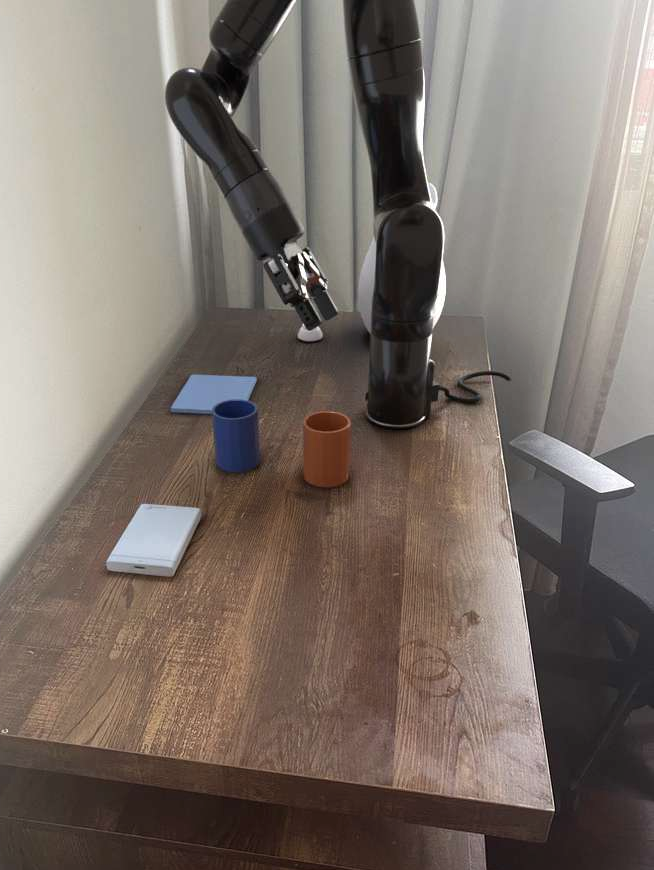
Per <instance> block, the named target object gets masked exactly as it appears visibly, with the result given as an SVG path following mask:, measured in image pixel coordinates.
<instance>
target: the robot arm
mask: <svg viewBox="0 0 654 870" xmlns="http://www.w3.org/2000/svg"><path fill="white" fill-rule="evenodd" d="M297 1H298V0H226V1H225V2H224V4H223V6H222V7H221V9H220V11H219V12H218V14H217V16H216V17H215V20H214V21H213V23H212V25H211V28H210V29H209V33H208V40H209V44H210V45H211V48H210V50H209V52H208V55H207V56H206V59H205V61H204V63H203V65H202V67H201V69H200V68H196V67H182V68H179V69H178V70H176V71H174V73H172V75H170V77H169V78H168V80H167V83H166V84H165V89H164V101H165V103H164V104H165V107H166V110H167V113H168V115H169V118H170V120H171V123H172V124H173V126H174V127H175V129H176V130H177V131H178V133H179V134H180V136H181V137H182V138H183V140H184V141H185V142H186V144H187V145H188V146H189V147H190V149H191V150H192V151H193V152H194V154H195V155H196V156H197V157H198V159H199V160H200V161H201V162H202V163H203V164H204V166H205V167H206V168H207V170H208V171H209V173H210V175H211V177H212V179H213V181H214V183H215V185H216V186H217V188H218V190H219V192H220V194H221V196H222V197H223V198H224V201H225V203H226V205H227V207H228V209H229V212H230V214H231V216H232V218H233V220H234V222H235V224H236V225H237V227H238V229H239V231H240V232H241V234H242V236H243V238H244V239H245V241H246V243H247V245H248V247H249V248H250V250H251V251H252V253H253V255H254V257H255V258H256V260H257V261H259V262H260V261H261V262H262V261H265V260H267V261H265V262H264V263H263V264H262V266H263V269H264V270H265V272H266V274H267V276H268V278H269V280H270V281H271V283H272V285H273V287H274V289H275V291H276V293H277V294H278V296H279V298H280V300H281V302H282V303H283V304H284V305H285V306H287V305H289V306H290V307H291V308H294V310H295V311H296V313H297V315H298V317H299V318H300V321H301V322H302V325H303V324H304V326H305V327H306V329H307V330H308V331H311V330H313V329H314V328H316V327H320V326H321V325H322V324H323V320H322V318H323V319H324V321H329V320H331V319H333V318H334V317H336V316H337V315H338V314H339V309H338V307H337V306H336V305H335V303H334V301H333V299H332V297H331V295H330V294H329V291H328V290H327V289H328V284H329V279H328V278H327V276H326V275H325V273H324V271H323V269H322V268H321V266H320V264H319V263H318V260H317V259H316V257H315V256H314V254H313V252H312V250H311V248H310V247H309V246H305V247H304V248H301V247H300V246H299V245H298V240H299V239H301V237H303V235H304V234H305V228H304V226H303V224H302V222H301V220H300V218H299V217H298V215H297V213H296V211H295V210H294V208H293V206H292V204H291V202H290V201H289V198H288V197H287V195H286V193H285V192H284V190H283V189H282V186H281V184H280V183H279V182H278V180H277V179H276V178H275V176H274V175H273V174H272V172H271V170H270V168H269V167H268V165H267V163H266V161H265V159H264V158H263V156H262V154H261V152H260V151H259V149H258V147H257V146H256V144H255V142H254V141H253V140H252V138H250V136H249V135H247V134H246V133H245V132H243V131H242V130H241V129H240V128H239V127H238V126H237V124H236V123H235V121H234V120H233V117H234V115H235V114H236V112H237V110H238V108H239V106H240V105H241V102H242V100H243V98H244V96H245V94H246V91H247V89H248V86H249V85H250V82H251V79H252V77H253V75H254V74H253V73H254V71H255V68H256V67H257V65H258V64H259V62H260V61H261V59H262V58H263V57H264V55H265V54H266V52H267V51H268V49H269V48H270V46H271V44H272V43H273V41H274V40H275V38H276V37H277V36H278V34H279V32H280V31H281V29H282V27H283V26H284V25H285V22H286V20H287V19H288V17H290V16H289V15H290V14H291V12H292V10H293V8H294V7H295V5H296V3H297ZM342 10H343V11H342V12H343V13H342V14H343V27H344V29H343V31H344V41H345V50H346V57H347V65H348V70H349V78H350V84H351V90H352V96H353V100H354V104H355V105H354V106H355V111H356V114H357V119H358V122H359V126H360V131H361V135H362V138H363V141H364V145H365V148H366V152H367V156H368V162H369V167H370V168H369V169H370V177H371V189H372V190H371V191H372V212H373V213H372V215H373V222H372V223H373V224H372V225H373V227H372V228H373V229H372V230H373V238H375V242H376V260H375V281H374V290H373V295H372V309H371V332H370V333H369V356H368V357H369V360H368V378H367V379H368V381H367V392H366V393H365V398H364V400H365V403H366V412H365V414H366V415H365V416H366V419H367V420H368V421H369V422H370V423H371V424H373V425H375V426H378V427H381V428H386V429H392V430H404V429H411V428H414V427H417V426H419V425H421V424H423V423H424V422H425V420H428V419H429V420H430V418H431V409H432V403H434V402H438V401H439V392H440V391H441V392H444V396H445V397H446V398H447V399H449V400H451V401H455V402H460V403H464V404H473V403H477V402H479V401H481V400H482V397H483V395H482V393H481V392H479V391H478V390H476V389H474V388H473V387H471V386H468V385H466V384H465V383H464V382H467V381H468V380H471V379H473V378H478V377H483V376H484V377H485V376H494V377H499V378H502V379H504V380H505V381H508V382H512V381H513V378H511V376H510V375H509V374H507V373H506V372H502V371H499V370H480V371H475V372H471V373H468V374H466V375H463V376H461V377H460V378H458V380H457V382H456V384H457V386H458V388H460V389H461V390H463V391H465V392H467V393H470V394H471V395H473V396H474V397H463V396H458V395H456V394H452V393H450V388H449V387H447V386H445V385H441V384H439V383H438V382H437V381H435V379H434V377H435V367H436V364H435V362H434V360H432V359H431V351H432V350H431V349H432V338H433V330H434V327H433V318H434V308H435V302H436V299H437V296H438V292H439V285H440V276H441V267H442V260H443V257H444V256H443V255H444V247H445V227H444V224H443V220H442V219H441V216H439V214H438V212H437V210H436V208H435V209H434V207H433V204H432V201H431V197H430V193H429V188H428V183H429V182H428V178H427V172H426V167H425V161H424V149H423V135H424V121H425V120H424V119H425V99H426V98H425V95H426V94H425V91H426V89H425V87H426V86H425V68H424V57H423V48H422V40H421V32H420V27H419V25H420V24H419V19H418V13H417V9H416V3H415V0H342ZM268 259H269V260H268ZM309 296H310V297H311V298H312V300H313V301H312V300H311V299H310V298H309ZM312 302H313V303H314V304H315V306H316V307H315V306H314V304H313V303H312ZM316 308H317V309H318V311H319V313H320V314H321V316H322V318H321V316H320V315H319V313H318V311H317V310H316Z"/></svg>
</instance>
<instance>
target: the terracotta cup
mask: <svg viewBox="0 0 654 870" xmlns="http://www.w3.org/2000/svg"><path fill="white" fill-rule="evenodd" d="M351 427H352V422H351V418H349V417H348V416H347V415H346V414H343V413H341V412H337V411H330V410H326V411H324V410H322V411H321V410H320V411H317V412H313V413H310V414H308V415H306V416H305V417H304V418H303V420H302V463H303V465H302V469H303V471H302V472H303V479H304V480H305V482H306V483H308V485H312V486H315V487H319V488H335V487H339V486H341V485H343V484H345V483H346V482H348V480H349V478H350V468H351V467H350V465H351V464H350V462H351V434H352V433H351V431H352V428H351Z"/></svg>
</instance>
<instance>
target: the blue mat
mask: <svg viewBox="0 0 654 870" xmlns="http://www.w3.org/2000/svg"><path fill="white" fill-rule="evenodd" d="M257 382H258V378H257V376H239V375H237V376H236V375H218V374H217V375H216V374H213V375H212V374H191V375H190V376H189V378H188V380H187V381H186V383H185V384H184V386H183V388H182V389H181V391H180V392H179V393H178V395H177V397H176V399H175V400H174V402H173V403H172V405H171V406H170V408H169V409H170V413H179V414H180V413H182V414H198V415H199V414H200V415H212V408H213V407H214V406H215V405H216V404H218V403H220V402H222V401H226V400H232V399H242V400H248V401H250V397H251V395H252V392H253V390H254V388H255V385H256V383H257Z"/></svg>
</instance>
